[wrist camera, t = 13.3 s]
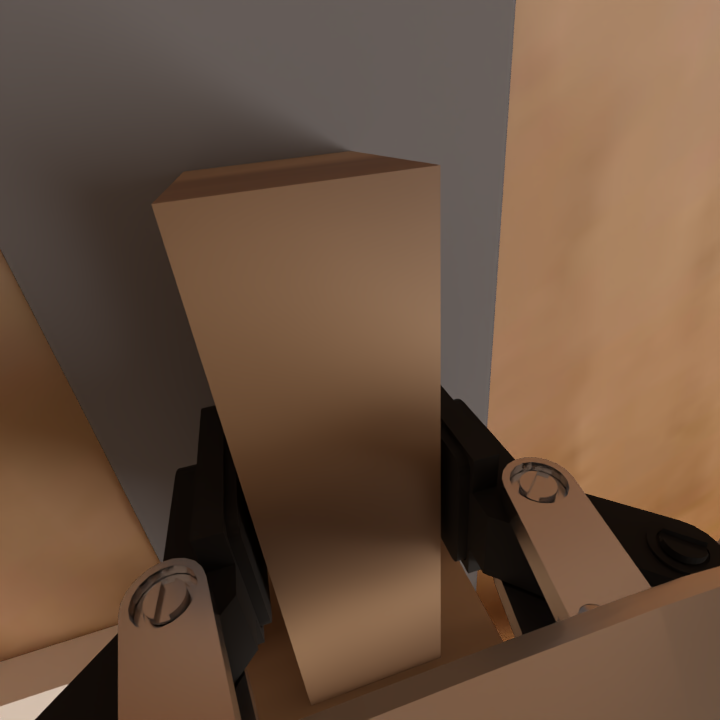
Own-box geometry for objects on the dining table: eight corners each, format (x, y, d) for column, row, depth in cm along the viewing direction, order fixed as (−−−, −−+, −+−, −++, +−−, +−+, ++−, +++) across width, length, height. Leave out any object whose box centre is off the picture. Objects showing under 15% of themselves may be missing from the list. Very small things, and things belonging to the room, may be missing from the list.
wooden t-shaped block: (89, 183, 8) (-52, 238, 4) (426, 141, 10) (586, 150, 5) (261, 636, 16) (274, 816, 12) (432, 578, 17) (499, 722, 13)
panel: (-131, -49, 7) (-160, -63, 6) (503, -64, 9) (520, -76, 8) (223, 670, 17) (223, 686, 17) (468, 586, 20) (475, 598, 19)
